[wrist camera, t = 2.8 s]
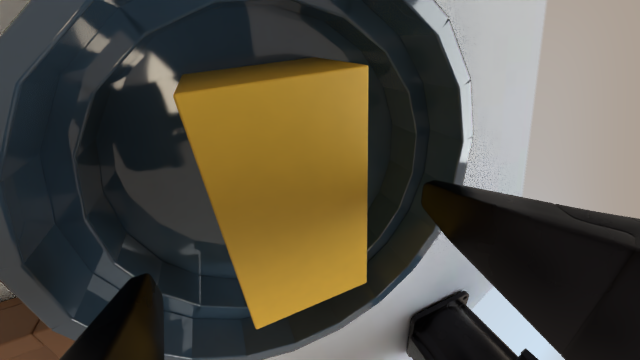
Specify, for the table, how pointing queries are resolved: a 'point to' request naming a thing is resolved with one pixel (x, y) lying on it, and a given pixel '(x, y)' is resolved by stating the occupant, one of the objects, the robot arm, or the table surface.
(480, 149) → the table surface
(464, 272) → the table surface
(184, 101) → the block
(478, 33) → the table surface
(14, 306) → the tray
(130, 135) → the bowl
